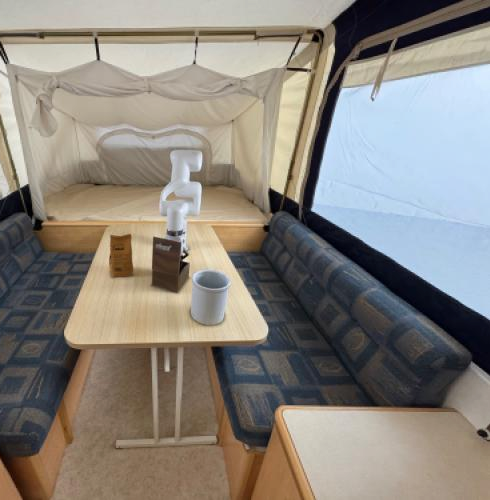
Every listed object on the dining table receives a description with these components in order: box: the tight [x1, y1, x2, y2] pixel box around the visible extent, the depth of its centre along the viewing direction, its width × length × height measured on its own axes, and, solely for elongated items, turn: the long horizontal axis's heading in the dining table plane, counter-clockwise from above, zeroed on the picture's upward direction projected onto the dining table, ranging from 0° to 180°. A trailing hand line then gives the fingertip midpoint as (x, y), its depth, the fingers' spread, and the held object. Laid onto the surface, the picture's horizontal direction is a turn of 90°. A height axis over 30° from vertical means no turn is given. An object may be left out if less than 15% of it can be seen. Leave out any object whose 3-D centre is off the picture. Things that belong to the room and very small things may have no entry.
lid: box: [151, 236, 181, 276], centre depth 119 cm, size 16×14×6 cm
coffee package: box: [108, 233, 134, 278], centre depth 137 cm, size 10×12×22 cm
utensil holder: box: [190, 269, 232, 326], centre depth 107 cm, size 15×15×18 cm
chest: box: [151, 260, 191, 294], centre depth 133 cm, size 16×14×9 cm
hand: (173, 264), depth 133 cm, fingers closed on puzzle toy, 6 cm apart
